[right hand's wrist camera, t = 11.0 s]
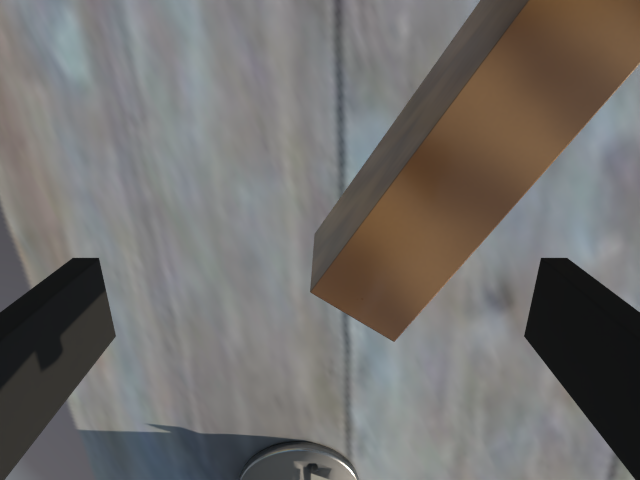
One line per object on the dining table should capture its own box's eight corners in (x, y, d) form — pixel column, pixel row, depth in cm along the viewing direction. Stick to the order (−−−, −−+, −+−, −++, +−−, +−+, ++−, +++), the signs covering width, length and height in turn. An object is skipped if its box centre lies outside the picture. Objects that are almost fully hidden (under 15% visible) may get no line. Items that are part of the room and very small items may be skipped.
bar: (377, 273, 30) (394, 342, 22) (314, 234, 29) (309, 292, 21) (678, -102, 21) (871, -199, 14) (605, -177, 20) (771, -325, 13)
